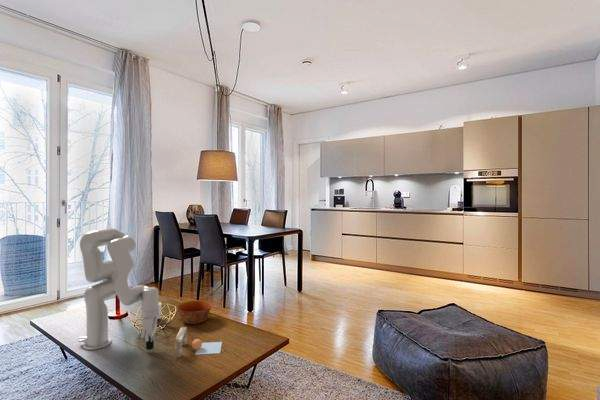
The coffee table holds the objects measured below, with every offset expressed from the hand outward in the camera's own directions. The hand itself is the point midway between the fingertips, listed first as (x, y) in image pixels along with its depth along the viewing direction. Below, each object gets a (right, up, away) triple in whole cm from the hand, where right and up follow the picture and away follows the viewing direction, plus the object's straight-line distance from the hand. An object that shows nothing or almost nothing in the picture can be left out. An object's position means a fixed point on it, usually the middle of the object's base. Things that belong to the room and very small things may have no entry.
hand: (149, 348), depth 164 cm
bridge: (+15, -2, +2) cm, 15 cm away
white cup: (-15, 0, +39) cm, 42 cm away
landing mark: (+29, -2, +4) cm, 29 cm away
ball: (+23, +1, +3) cm, 23 cm away
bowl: (+10, -1, +38) cm, 39 cm away
